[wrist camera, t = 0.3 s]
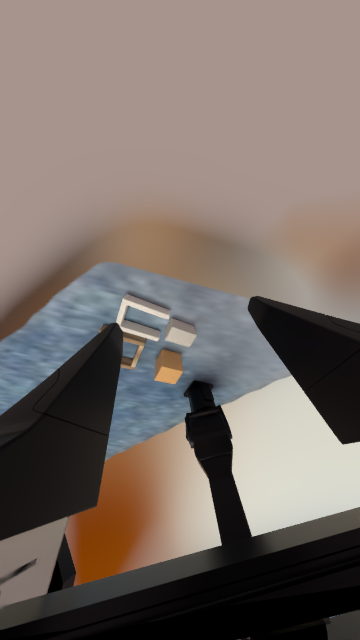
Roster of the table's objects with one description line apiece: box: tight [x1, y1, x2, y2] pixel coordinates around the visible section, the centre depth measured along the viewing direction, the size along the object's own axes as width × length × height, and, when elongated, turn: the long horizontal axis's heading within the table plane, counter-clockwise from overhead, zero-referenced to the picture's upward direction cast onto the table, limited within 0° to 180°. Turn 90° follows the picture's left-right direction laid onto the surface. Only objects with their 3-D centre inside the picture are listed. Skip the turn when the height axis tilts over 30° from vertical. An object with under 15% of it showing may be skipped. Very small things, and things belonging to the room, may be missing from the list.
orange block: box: [154, 349, 183, 384], centre depth 27 cm, size 4×4×5 cm
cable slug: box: [165, 318, 197, 347], centre depth 25 cm, size 3×5×4 cm, turn 64°
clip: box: [116, 294, 170, 341], centre depth 23 cm, size 6×8×2 cm
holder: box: [99, 325, 146, 370], centre depth 25 cm, size 8×8×2 cm
